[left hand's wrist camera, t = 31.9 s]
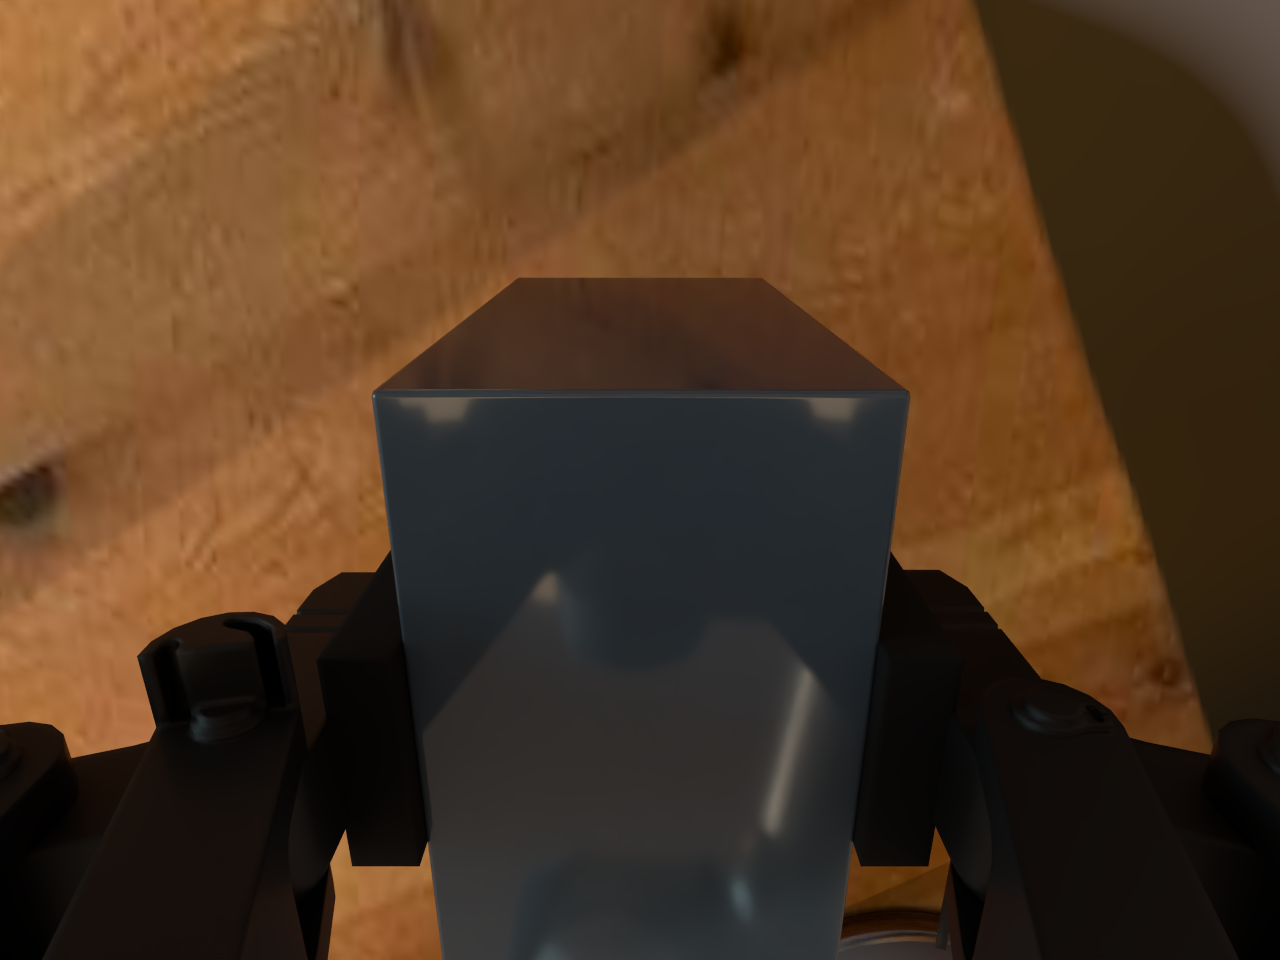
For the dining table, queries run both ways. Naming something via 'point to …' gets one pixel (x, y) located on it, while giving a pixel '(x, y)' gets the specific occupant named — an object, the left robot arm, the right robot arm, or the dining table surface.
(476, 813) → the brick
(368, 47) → the dining table surface
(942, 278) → the dining table surface
